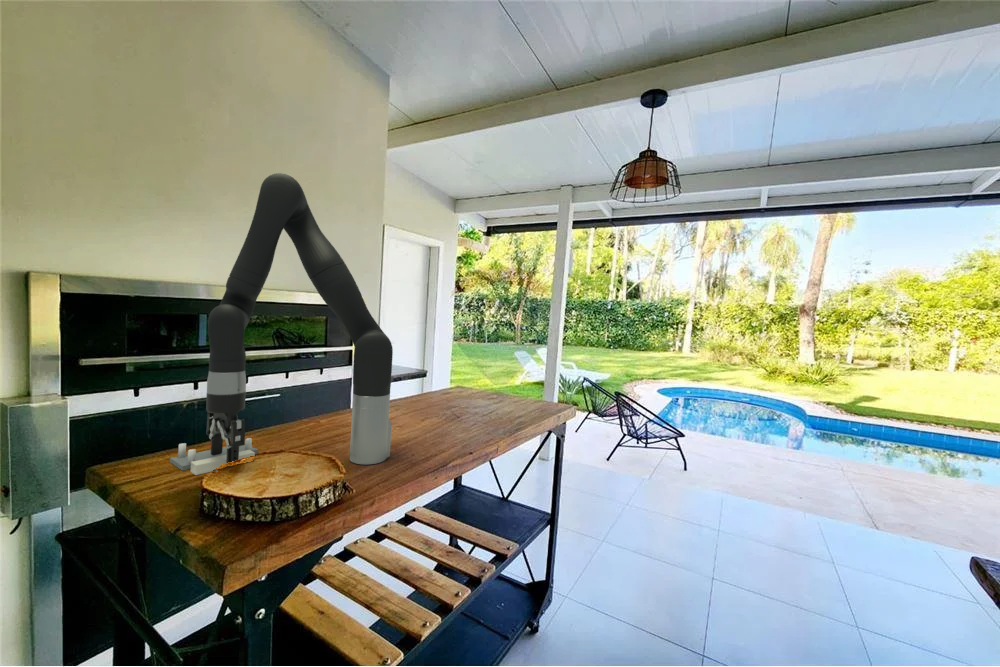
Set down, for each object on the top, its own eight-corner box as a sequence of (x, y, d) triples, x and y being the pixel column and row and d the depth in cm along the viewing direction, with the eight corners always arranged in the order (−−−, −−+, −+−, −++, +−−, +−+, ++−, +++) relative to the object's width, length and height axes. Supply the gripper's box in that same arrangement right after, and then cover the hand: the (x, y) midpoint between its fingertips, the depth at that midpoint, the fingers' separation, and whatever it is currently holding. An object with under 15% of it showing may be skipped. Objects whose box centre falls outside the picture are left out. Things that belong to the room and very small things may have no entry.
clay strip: (249, 459, 100) (249, 449, 100) (254, 462, 98) (254, 452, 98) (190, 472, 90) (190, 462, 90) (195, 476, 88) (195, 465, 88)
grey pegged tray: (244, 446, 107) (244, 431, 107) (258, 453, 103) (258, 438, 103) (170, 462, 94) (170, 445, 94) (182, 470, 90) (182, 453, 90)
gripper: (258, 392, 92) (255, 462, 93) (231, 384, 100) (228, 448, 101) (221, 397, 86) (218, 471, 87) (195, 387, 94) (192, 455, 95)
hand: (224, 458), depth 94 cm, fingers open, 8 cm apart
